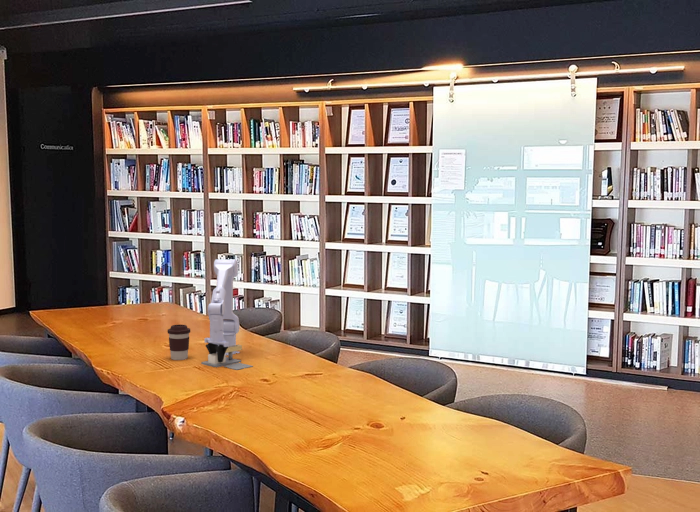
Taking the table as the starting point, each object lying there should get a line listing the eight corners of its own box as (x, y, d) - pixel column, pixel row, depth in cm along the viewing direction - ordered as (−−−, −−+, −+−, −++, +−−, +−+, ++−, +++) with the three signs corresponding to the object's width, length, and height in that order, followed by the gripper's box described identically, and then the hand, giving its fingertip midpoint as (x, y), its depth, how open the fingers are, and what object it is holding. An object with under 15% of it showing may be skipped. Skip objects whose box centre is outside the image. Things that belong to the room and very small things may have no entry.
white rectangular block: (208, 362, 331) (208, 354, 331) (219, 360, 335) (219, 352, 335) (214, 364, 328) (214, 356, 328) (225, 361, 332) (225, 353, 332)
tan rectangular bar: (218, 352, 334) (218, 348, 334) (238, 348, 342) (238, 344, 342) (222, 353, 332) (222, 348, 332) (241, 349, 340) (241, 345, 340)
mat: (223, 366, 327) (223, 366, 327) (239, 363, 334) (239, 362, 334) (236, 370, 321) (236, 369, 321) (253, 366, 328) (253, 365, 328)
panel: (201, 364, 332) (201, 353, 331) (226, 359, 342) (226, 349, 342) (215, 368, 325) (215, 357, 325) (241, 362, 336) (241, 352, 335)
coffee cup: (193, 356, 347) (193, 324, 346) (186, 361, 337) (186, 327, 336) (172, 356, 348) (171, 323, 347) (164, 361, 338) (164, 327, 337)
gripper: (198, 329, 332) (199, 359, 334) (219, 333, 323) (220, 365, 324) (211, 327, 338) (212, 357, 339) (232, 331, 328) (233, 362, 329)
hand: (216, 361), depth 332 cm, fingers closed on white rectangular block, 4 cm apart
